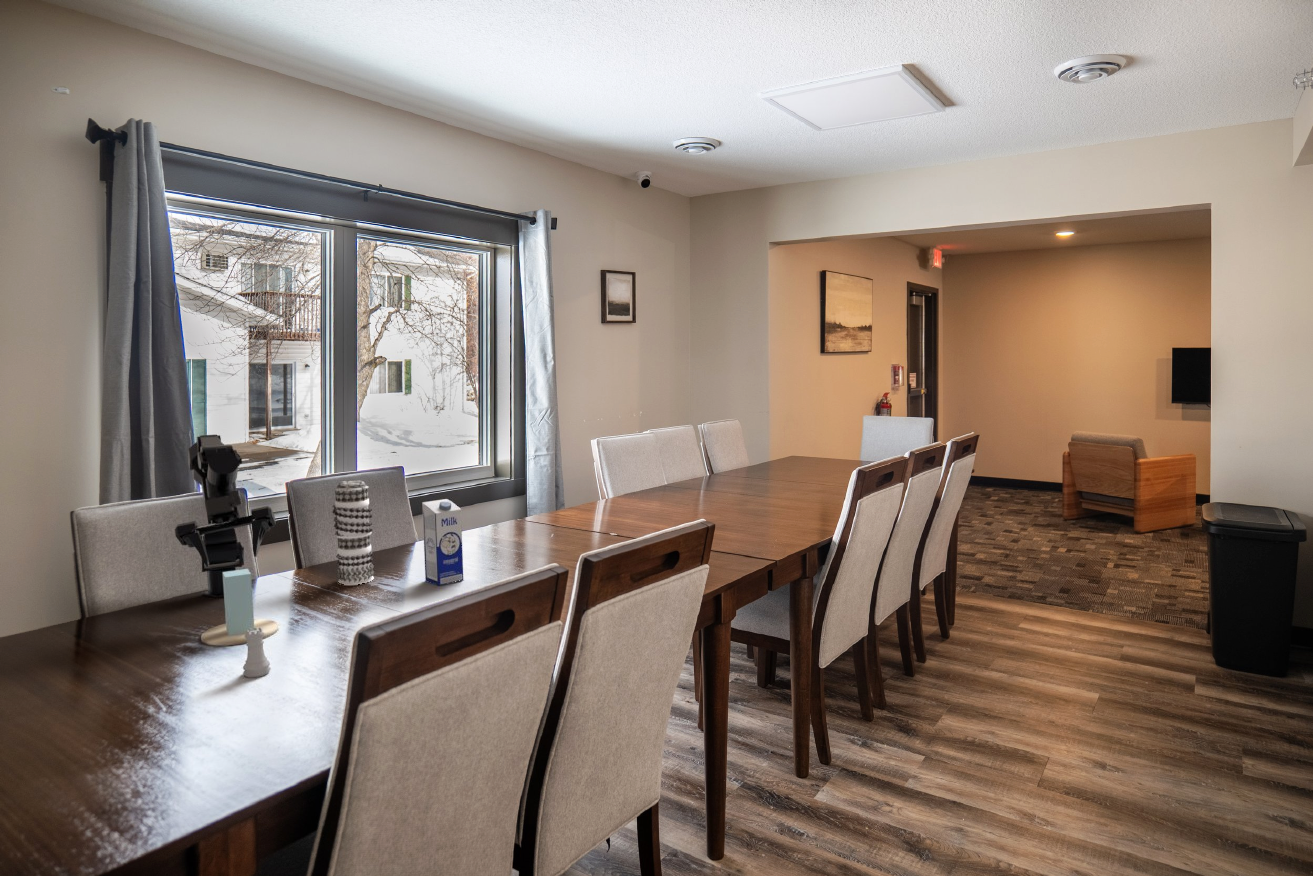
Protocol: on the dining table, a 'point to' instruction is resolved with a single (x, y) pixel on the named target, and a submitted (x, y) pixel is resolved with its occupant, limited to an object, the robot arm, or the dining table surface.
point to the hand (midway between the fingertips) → (231, 561)
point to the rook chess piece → (255, 655)
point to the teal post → (238, 601)
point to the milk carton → (442, 542)
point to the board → (221, 637)
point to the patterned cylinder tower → (353, 533)
